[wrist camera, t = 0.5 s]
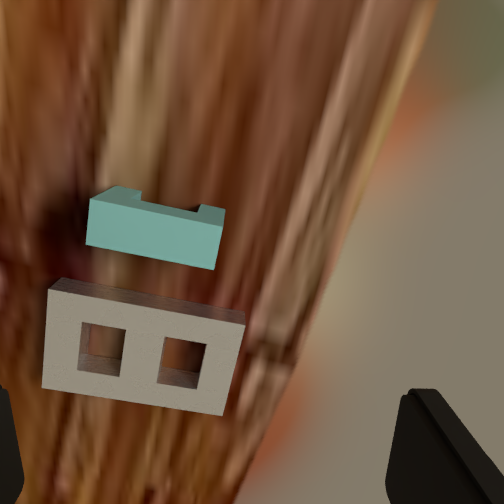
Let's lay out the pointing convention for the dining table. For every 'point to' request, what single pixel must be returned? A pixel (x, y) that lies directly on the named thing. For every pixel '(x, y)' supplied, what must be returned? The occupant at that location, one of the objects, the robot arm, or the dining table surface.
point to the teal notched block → (154, 228)
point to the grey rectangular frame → (139, 346)
